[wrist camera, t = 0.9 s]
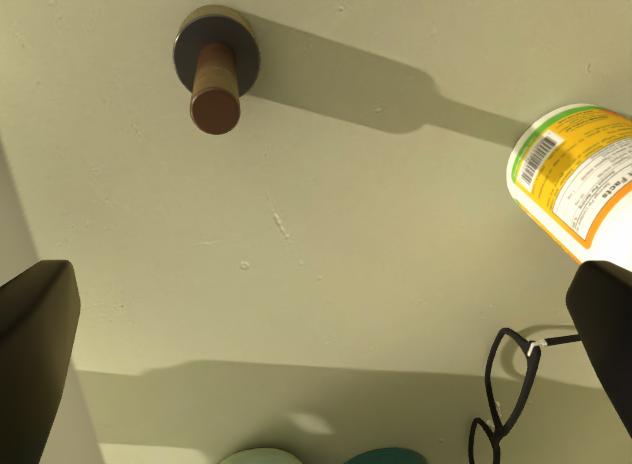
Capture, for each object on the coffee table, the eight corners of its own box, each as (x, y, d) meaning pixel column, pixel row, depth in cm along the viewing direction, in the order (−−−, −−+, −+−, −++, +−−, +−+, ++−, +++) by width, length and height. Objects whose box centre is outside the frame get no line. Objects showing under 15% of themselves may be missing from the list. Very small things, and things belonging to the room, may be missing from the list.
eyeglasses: (493, 293, 26) (532, 348, 23) (756, 261, 28) (827, 308, 25) (452, 473, 35) (476, 532, 32) (654, 440, 37) (696, 491, 34)
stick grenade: (162, 56, 18) (133, 127, 12) (203, -14, 17) (193, 25, 11) (230, 100, 19) (233, 184, 13) (272, 37, 18) (295, 97, 12)
